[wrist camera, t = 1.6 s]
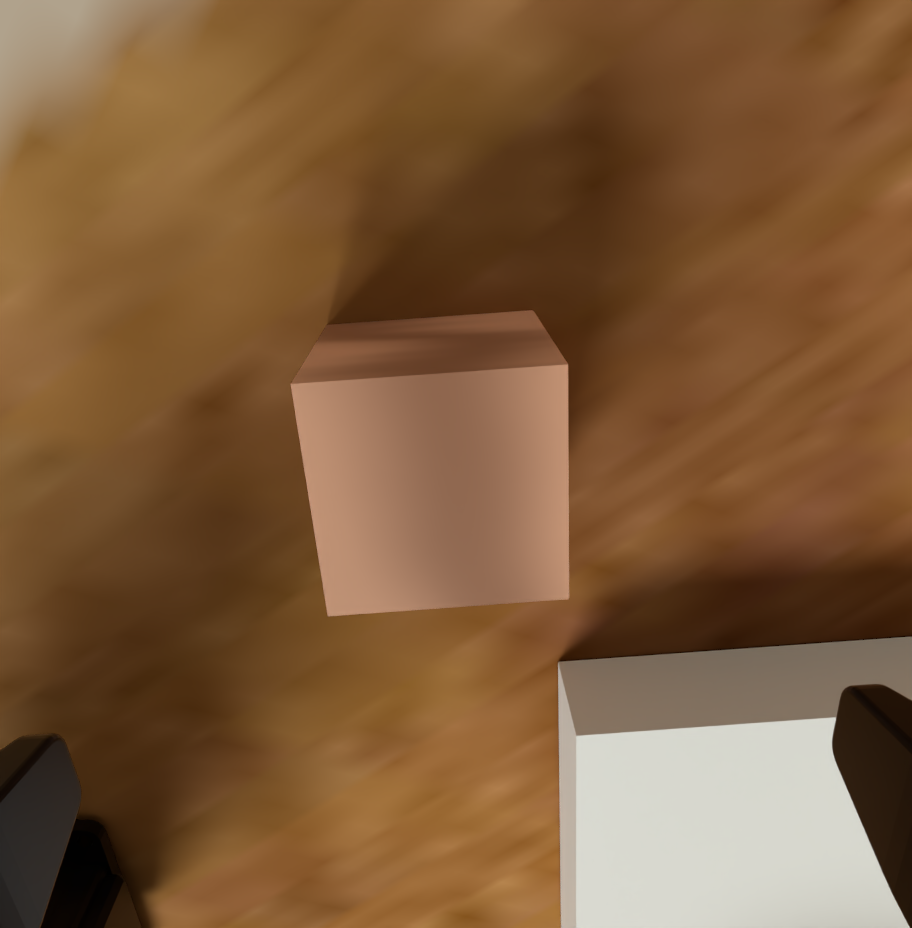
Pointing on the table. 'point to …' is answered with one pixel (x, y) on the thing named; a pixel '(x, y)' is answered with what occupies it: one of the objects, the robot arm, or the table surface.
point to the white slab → (717, 789)
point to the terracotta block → (436, 462)
